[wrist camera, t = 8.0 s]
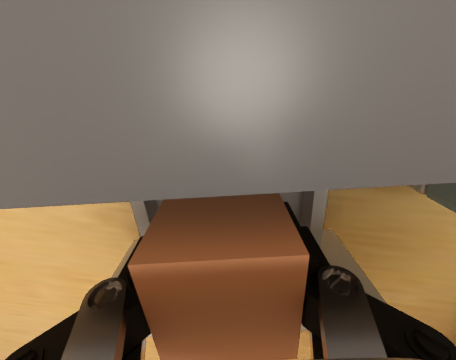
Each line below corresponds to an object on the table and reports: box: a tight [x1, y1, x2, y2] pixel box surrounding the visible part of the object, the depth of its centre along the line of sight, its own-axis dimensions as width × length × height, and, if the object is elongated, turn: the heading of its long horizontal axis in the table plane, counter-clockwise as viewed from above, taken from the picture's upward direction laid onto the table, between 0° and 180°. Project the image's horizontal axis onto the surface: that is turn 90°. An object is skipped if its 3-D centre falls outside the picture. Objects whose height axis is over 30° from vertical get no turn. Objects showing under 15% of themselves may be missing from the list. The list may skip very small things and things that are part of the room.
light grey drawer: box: [111, 190, 387, 337], centre depth 11 cm, size 17×16×6 cm
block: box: [127, 193, 309, 360], centre depth 9 cm, size 5×5×5 cm
